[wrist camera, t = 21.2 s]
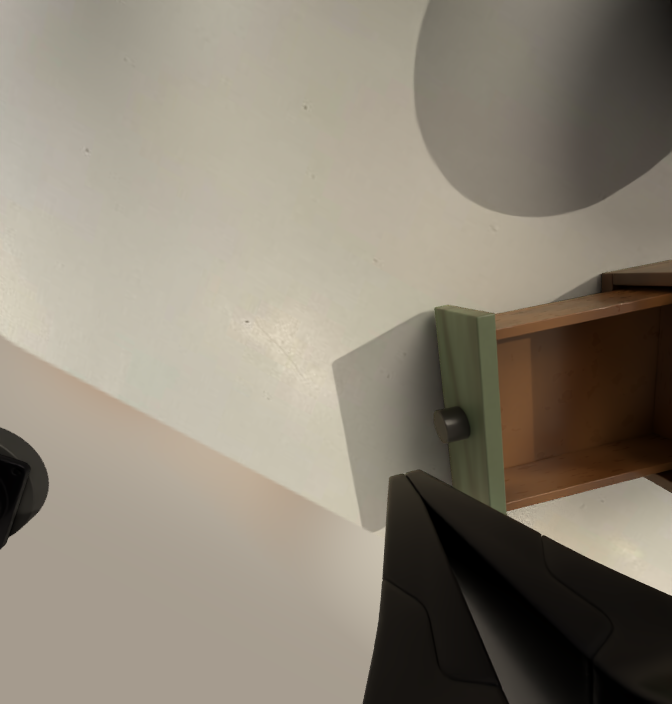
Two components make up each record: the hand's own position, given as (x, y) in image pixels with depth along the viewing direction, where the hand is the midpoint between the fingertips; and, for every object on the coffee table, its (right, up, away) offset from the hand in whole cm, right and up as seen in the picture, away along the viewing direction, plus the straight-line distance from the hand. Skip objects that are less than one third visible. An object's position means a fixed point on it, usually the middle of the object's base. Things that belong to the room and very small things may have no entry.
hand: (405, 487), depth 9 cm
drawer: (+12, +1, +14) cm, 19 cm away
